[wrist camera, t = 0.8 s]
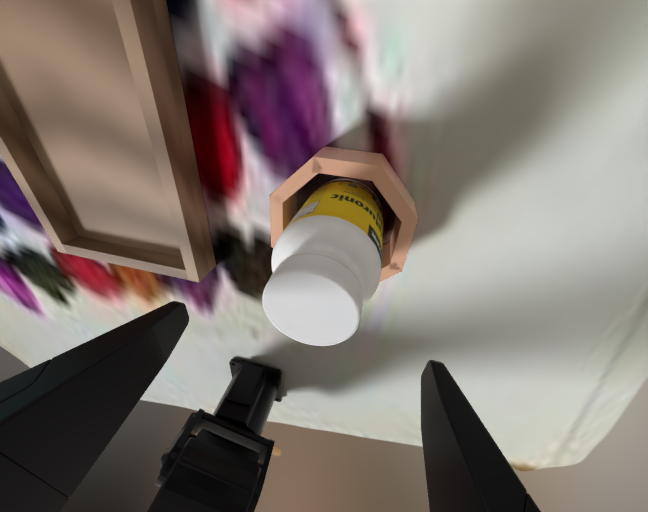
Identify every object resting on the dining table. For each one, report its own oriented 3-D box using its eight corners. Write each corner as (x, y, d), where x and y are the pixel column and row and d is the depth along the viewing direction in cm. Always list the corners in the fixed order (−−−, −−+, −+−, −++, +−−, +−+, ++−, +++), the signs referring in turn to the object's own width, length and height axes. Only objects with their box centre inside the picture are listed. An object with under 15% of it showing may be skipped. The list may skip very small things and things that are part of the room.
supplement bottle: (400, 220, 17) (409, 332, 9) (341, 259, 20) (309, 372, 12) (349, 157, 16) (307, 226, 8) (292, 208, 19) (219, 298, 11)
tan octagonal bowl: (392, 274, 20) (392, 300, 17) (286, 254, 21) (272, 276, 18) (426, 159, 15) (433, 172, 13) (286, 140, 16) (267, 150, 14)
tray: (216, 265, 23) (199, 282, 21) (85, 238, 25) (57, 251, 23) (152, -73, 12) (104, -106, 10) (-75, -78, 14) (-155, -107, 12)
